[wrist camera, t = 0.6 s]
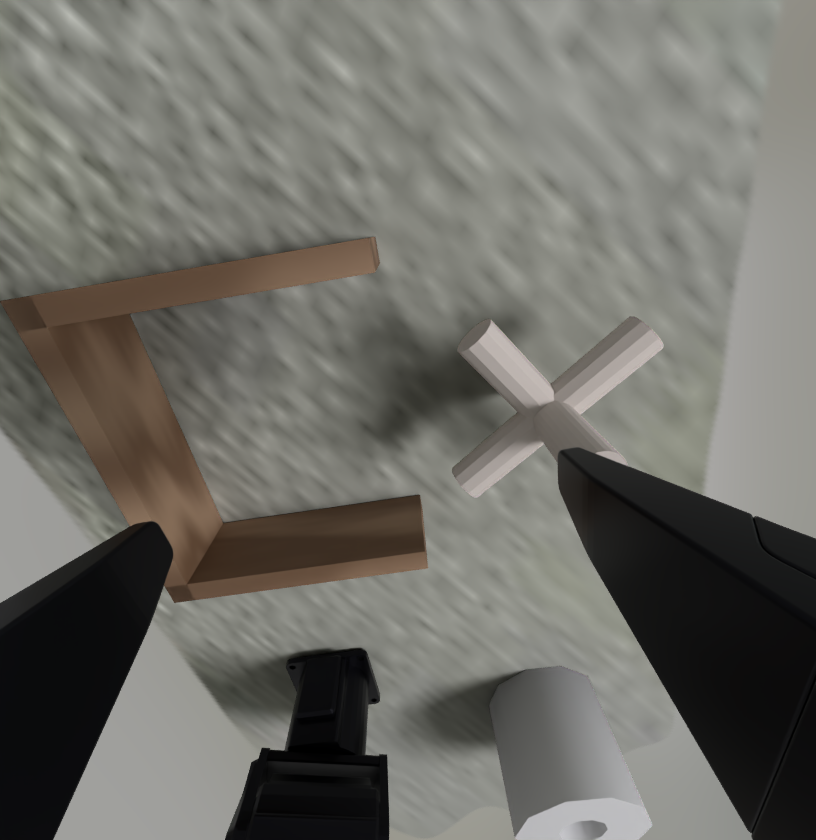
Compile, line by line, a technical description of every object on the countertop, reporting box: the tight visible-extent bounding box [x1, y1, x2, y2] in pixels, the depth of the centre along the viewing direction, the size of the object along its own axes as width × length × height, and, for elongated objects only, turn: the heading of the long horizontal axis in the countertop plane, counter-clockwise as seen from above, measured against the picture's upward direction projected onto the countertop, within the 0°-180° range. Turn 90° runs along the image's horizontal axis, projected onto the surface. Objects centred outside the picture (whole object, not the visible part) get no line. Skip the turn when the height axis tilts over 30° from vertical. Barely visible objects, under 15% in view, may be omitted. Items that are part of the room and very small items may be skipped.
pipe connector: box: [452, 317, 664, 497], centre depth 18 cm, size 10×10×10 cm
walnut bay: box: [0, 237, 428, 603], centre depth 20 cm, size 16×14×5 cm
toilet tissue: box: [489, 666, 652, 840], centre depth 32 cm, size 9×13×9 cm
